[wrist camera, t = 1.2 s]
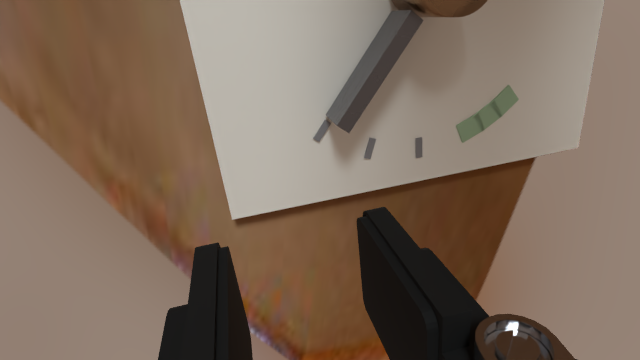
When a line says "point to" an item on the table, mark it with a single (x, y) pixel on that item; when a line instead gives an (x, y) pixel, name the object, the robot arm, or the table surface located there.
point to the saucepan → (389, 53)
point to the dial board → (384, 93)
